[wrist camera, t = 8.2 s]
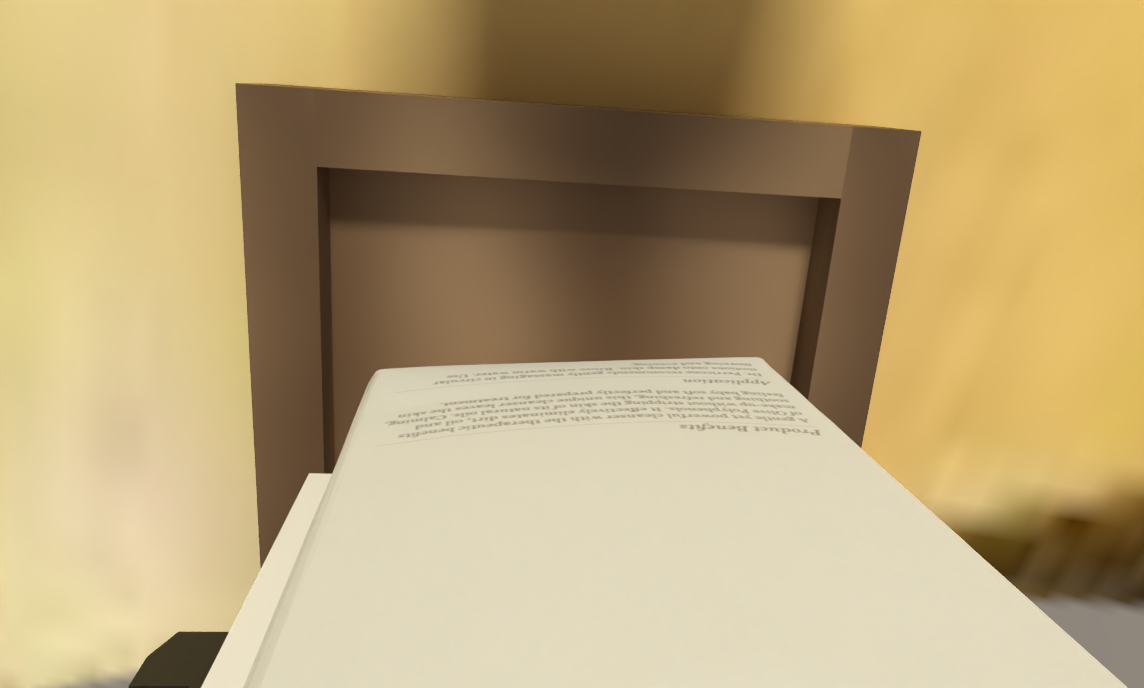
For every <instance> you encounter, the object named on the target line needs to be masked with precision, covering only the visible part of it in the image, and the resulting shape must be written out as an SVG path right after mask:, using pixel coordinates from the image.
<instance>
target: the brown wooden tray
mask: <svg viewBox="0 0 1144 688" xmlns="http://www.w3.org/2000/svg"><path fill="white" fill-rule="evenodd" d="M236 103H237V122H238V141H239V160H240V179H241V199H242V218H243V237H244V256H245V275H246V295H247V314H248V333H249V352H250V371H251V391H252V410H253V429H254V448H255V467H256V487H257V506H258V525H259V544H260V563H261V568H262V566H263V564H264V562H265V560H266V558H267V556H268V554H269V552H270V550H271V548H272V546H273V544H274V542H275V540H276V538H277V536H278V534H279V532H280V530H281V528H282V526H283V524H284V522H285V520H286V518H287V516H288V514H289V512H290V510H291V508H292V506H293V504H294V502H295V500H296V498H297V496H298V494H299V492H300V490H301V488H302V486H303V484H304V482H305V481H306V479H307V477H308V475H309V473H321V474H332V473H333V471H334V468H335V466H336V463H337V461H338V458H339V456H340V453H341V451H342V448H343V445H344V443H345V440H346V438H347V435H348V433H349V430H350V427H351V425H352V422H353V420H354V417H355V415H356V412H357V410H358V407H359V405H360V402H361V400H362V397H363V395H364V393H365V390H366V388H367V386H368V383H369V381H370V380H371V378H372V377H373V375H374V374H375V372H376V371H378V370H380V369H391V368H407V367H425V366H451V365H482V364H515V363H548V362H582V361H615V360H651V359H690V358H728V357H758V358H762V359H763V360H764V361H765V362H766V363H767V364H768V365H769V366H770V367H771V368H772V369H774V370H775V371H776V372H777V373H778V374H779V375H781V376H782V377H783V378H784V379H785V380H786V381H787V382H788V383H789V384H790V385H792V386H793V387H794V388H795V389H796V390H797V391H798V392H799V393H801V394H802V395H803V396H804V397H805V398H806V399H807V400H808V401H809V402H810V403H811V404H812V405H813V406H815V407H816V408H817V409H818V410H819V411H820V412H821V413H823V414H824V415H825V416H826V417H827V418H828V419H830V420H831V421H832V422H833V423H834V424H835V425H836V426H837V427H838V428H839V429H841V430H842V431H843V432H844V433H845V434H846V435H847V436H848V437H849V438H850V439H851V440H853V441H854V442H855V443H856V444H857V445H858V446H859V447H860V448H861V446H862V441H863V435H864V430H865V425H866V420H867V414H868V409H869V404H870V399H871V393H872V388H873V383H874V378H875V372H876V367H877V362H878V357H879V351H880V346H881V341H882V336H883V330H884V325H885V320H886V315H887V309H888V304H889V299H890V293H891V288H892V283H893V278H894V272H895V267H896V262H897V257H898V251H899V246H900V241H901V236H902V230H903V225H904V220H905V215H906V209H907V204H908V199H909V194H910V188H911V183H912V178H913V173H914V167H915V162H916V157H917V151H918V146H919V141H920V136H921V131H914V130H904V129H895V128H886V127H876V126H862V125H848V124H834V123H819V122H805V121H791V120H776V119H762V118H748V117H734V116H719V115H705V114H691V113H677V112H662V111H648V110H634V109H619V108H605V107H591V106H577V105H562V104H548V103H534V102H519V101H505V100H491V99H477V98H462V97H448V96H434V95H420V94H405V93H391V92H377V91H362V90H348V89H334V88H320V87H305V86H291V85H277V84H242V83H236Z"/></svg>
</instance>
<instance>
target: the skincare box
mask: <svg viewBox="0 0 1144 688" xmlns="http://www.w3.org/2000/svg"><path fill="white" fill-rule="evenodd" d="M243 688H1127V687H1126V686H1125V685H1124V684H1123V683H1122V682H1121V681H1119V680H1118V679H1117V678H1116V677H1115V676H1114V675H1113V674H1112V673H1111V672H1109V671H1108V670H1107V669H1106V668H1105V667H1104V666H1103V665H1102V664H1101V663H1099V662H1098V661H1097V660H1096V659H1095V658H1094V657H1093V656H1092V655H1090V654H1089V653H1088V652H1087V651H1086V650H1085V649H1084V648H1083V647H1082V646H1080V645H1079V644H1078V643H1077V642H1076V641H1075V640H1074V639H1073V638H1072V637H1070V636H1069V635H1068V634H1067V633H1066V632H1065V631H1064V630H1062V629H1061V628H1060V627H1059V626H1058V625H1057V624H1056V623H1055V622H1054V621H1053V620H1051V619H1050V618H1049V617H1048V616H1047V615H1046V614H1045V613H1044V612H1043V611H1041V610H1040V609H1039V608H1038V607H1037V606H1036V605H1035V604H1034V603H1032V602H1031V601H1030V600H1029V599H1028V598H1027V597H1026V596H1025V595H1024V594H1022V593H1021V592H1020V591H1019V590H1018V589H1017V588H1016V587H1015V586H1013V585H1012V584H1011V583H1010V582H1009V581H1008V580H1007V579H1006V578H1005V577H1003V576H1002V575H1001V574H1000V573H999V572H998V571H997V570H996V569H995V568H993V567H992V566H991V565H990V564H989V563H988V562H987V561H986V560H984V559H983V558H982V557H981V556H980V555H979V554H978V553H977V552H976V551H974V550H973V549H972V548H971V547H970V546H969V545H968V544H967V543H966V542H965V541H964V540H963V539H962V538H960V537H959V536H958V535H957V534H956V533H955V532H954V531H953V530H951V529H950V528H949V527H948V526H947V525H946V524H945V523H944V522H943V521H941V520H940V519H939V518H938V517H937V516H936V515H935V514H934V513H932V512H931V511H930V510H929V509H928V508H927V507H926V506H925V505H923V504H922V503H921V502H920V501H919V500H918V499H917V498H916V497H914V496H913V495H912V494H911V493H910V492H909V491H908V490H907V489H906V488H904V487H903V486H902V485H901V484H900V483H899V482H898V481H897V480H895V479H894V478H893V477H892V476H891V475H890V474H889V473H888V472H887V471H885V470H884V469H883V468H882V467H881V466H880V465H879V464H878V463H876V462H875V461H874V460H873V459H872V458H871V457H870V456H869V455H868V454H867V453H866V452H864V451H863V450H862V449H861V448H860V447H859V446H858V445H857V444H856V443H855V442H854V441H853V440H851V439H850V438H849V437H848V436H847V435H846V434H845V433H844V432H843V431H842V430H841V429H839V428H838V427H837V426H836V425H835V424H834V423H833V422H832V421H831V420H830V419H828V418H827V417H826V416H825V415H824V414H823V413H821V412H820V411H819V410H818V409H817V408H816V407H815V406H813V405H812V404H811V403H810V402H809V401H808V400H807V399H806V398H805V397H804V396H803V395H802V394H801V393H799V392H798V391H797V390H796V389H795V388H794V387H793V386H792V385H790V384H789V383H788V382H787V381H786V380H785V379H784V378H783V377H782V376H781V375H779V374H778V373H777V372H776V371H775V370H774V369H772V368H771V367H770V366H769V365H768V364H767V363H766V362H765V361H764V360H763V359H762V358H758V357H728V358H690V359H651V360H615V361H582V362H548V363H515V364H482V365H451V366H425V367H407V368H391V369H380V370H378V371H376V372H375V374H374V375H373V377H372V378H371V380H370V381H369V383H368V386H367V388H366V390H365V393H364V395H363V397H362V400H361V402H360V405H359V407H358V410H357V412H356V415H355V417H354V420H353V422H352V425H351V427H350V430H349V433H348V435H347V438H346V440H345V443H344V445H343V448H342V451H341V453H340V456H339V458H338V461H337V463H336V466H335V468H334V471H333V473H332V475H331V478H330V480H329V483H328V485H327V488H326V490H325V492H324V495H323V497H322V499H321V501H320V504H319V506H318V508H317V511H316V513H315V515H314V518H313V520H312V522H311V525H310V527H309V530H308V532H307V534H306V537H305V539H304V542H303V544H302V547H301V549H300V551H299V554H298V556H297V559H296V561H295V563H294V566H293V568H292V571H291V573H290V576H289V578H288V580H287V583H286V585H285V588H284V590H283V593H282V595H281V597H280V600H279V602H278V605H277V607H276V610H275V612H274V614H273V617H272V619H271V622H270V624H269V627H268V629H267V631H266V634H265V636H264V639H263V641H262V644H261V646H260V648H259V651H258V653H257V656H256V658H255V661H254V663H253V665H252V668H251V670H250V673H249V675H248V678H247V680H246V682H245V685H244V687H243Z"/></svg>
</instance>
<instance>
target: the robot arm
mask: <svg viewBox="0 0 1144 688" xmlns="http://www.w3.org/2000/svg"><path fill="white" fill-rule="evenodd" d="M331 475H332V474H321V473H309V475H308V477H307V479H306V481H305V482H304V484H303V486H302V488H301V490H300V492H299V494H298V496H297V498H296V500H295V502H294V504H293V506H292V508H291V510H290V512H289V514H288V516H287V518H286V520H285V522H284V524H283V526H282V528H281V530H280V532H279V534H278V536H277V538H276V540H275V542H274V544H273V546H272V548H271V550H270V552H269V554H268V556H267V558H266V560H265V562H264V564H263V566H262V568H261V570H260V572H259V574H258V576H257V578H256V580H255V582H254V584H253V586H252V588H251V590H250V592H249V594H248V596H247V598H246V600H245V601H244V603H243V605H242V607H241V609H240V611H239V613H238V615H237V617H236V619H235V621H234V623H233V625H232V627H231V629H230V631H229V632H178V633H176V634H175V635H174V636H173V637H171V638H170V639H169V640H168V641H166V642H165V643H164V644H163V645H161V646H160V647H159V648H158V649H156V650H155V651H154V652H153V653H151V654H150V655H149V656H148V657H147V658H146V659H145V661H144V663H143V664H142V666H141V667H140V669H139V671H138V672H137V674H136V675H135V677H134V679H133V680H132V682H131V683H130V685H129V688H243V687H244V685H245V682H246V680H247V678H248V675H249V673H250V670H251V668H252V665H253V663H254V661H255V658H256V656H257V653H258V651H259V648H260V646H261V644H262V641H263V639H264V636H265V634H266V631H267V629H268V627H269V624H270V622H271V619H272V617H273V614H274V612H275V610H276V607H277V605H278V602H279V600H280V597H281V595H282V593H283V590H284V588H285V585H286V583H287V580H288V578H289V576H290V573H291V571H292V568H293V566H294V563H295V561H296V559H297V556H298V554H299V551H300V549H301V547H302V544H303V542H304V539H305V537H306V534H307V532H308V530H309V527H310V525H311V522H312V520H313V518H314V515H315V513H316V511H317V508H318V506H319V504H320V501H321V499H322V497H323V495H324V492H325V490H326V488H327V485H328V483H329V480H330V478H331Z"/></svg>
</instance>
